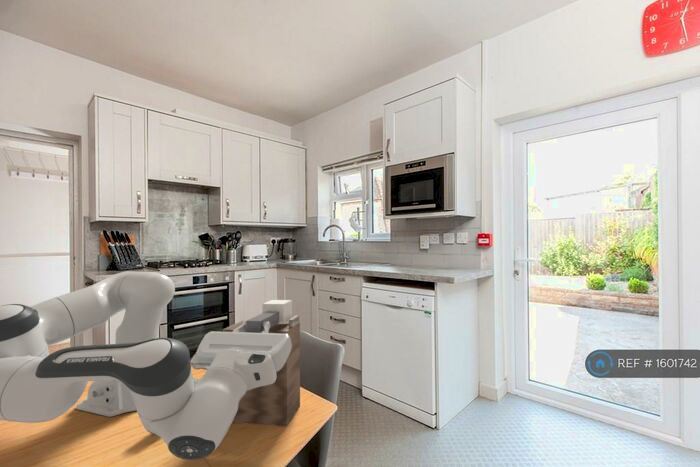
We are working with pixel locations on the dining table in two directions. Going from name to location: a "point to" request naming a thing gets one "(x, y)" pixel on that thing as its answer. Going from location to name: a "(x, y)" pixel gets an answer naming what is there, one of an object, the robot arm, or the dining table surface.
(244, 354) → the robot arm
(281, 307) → the grey and white block
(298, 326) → the brown wood grain box
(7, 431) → the dining table surface
